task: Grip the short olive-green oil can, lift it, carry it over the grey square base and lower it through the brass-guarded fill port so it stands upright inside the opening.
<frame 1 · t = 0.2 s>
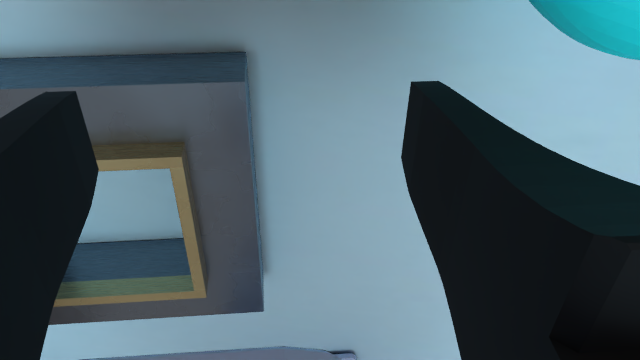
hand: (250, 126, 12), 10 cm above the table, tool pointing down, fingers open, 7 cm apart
grey square base: (114, 186, 25), on the table
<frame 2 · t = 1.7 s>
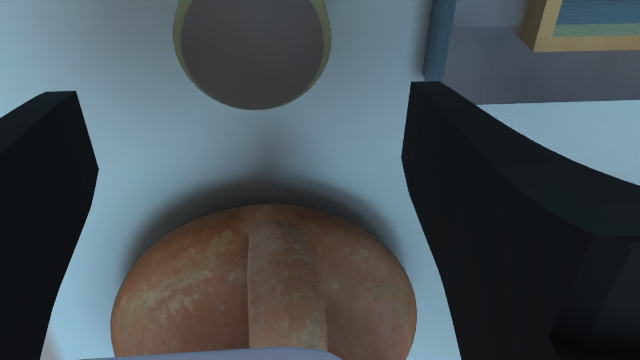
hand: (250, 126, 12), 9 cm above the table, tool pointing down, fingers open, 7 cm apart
ceramic jug: (268, 271, 28), on the table
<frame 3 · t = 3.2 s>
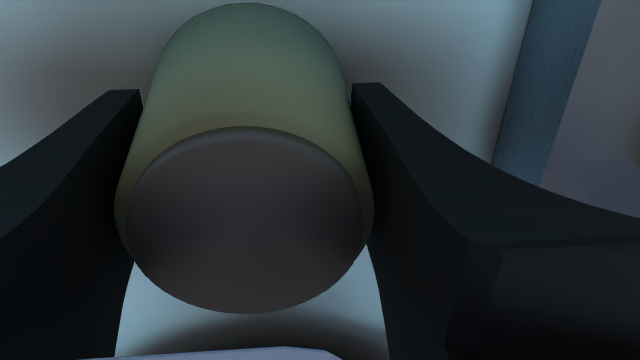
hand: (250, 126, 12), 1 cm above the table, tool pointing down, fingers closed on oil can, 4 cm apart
oil can: (251, 94, 13), on the table, touching gripper
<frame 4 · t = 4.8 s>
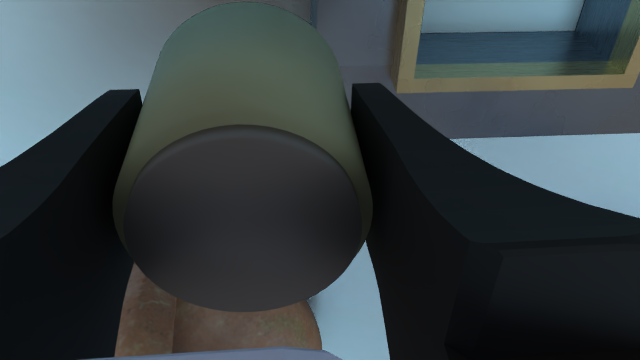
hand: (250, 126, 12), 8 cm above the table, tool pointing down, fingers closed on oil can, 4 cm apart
ceramic jug: (178, 298, 28), on the table
oil can: (250, 93, 13), point 7 cm above the table, touching gripper
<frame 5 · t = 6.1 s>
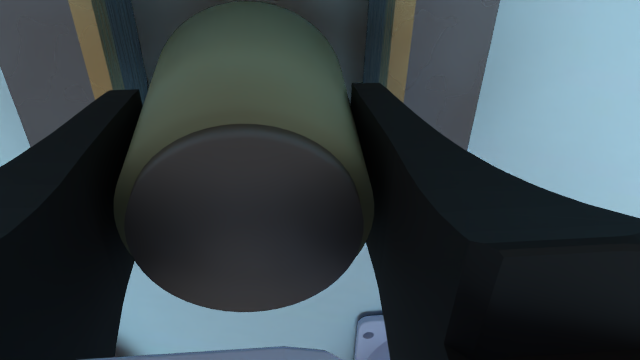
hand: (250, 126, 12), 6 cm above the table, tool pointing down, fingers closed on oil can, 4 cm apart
grey square base: (253, 26, 17), on the table
oil can: (250, 93, 13), point 4 cm above the table, touching gripper
when the fingers open (4 cm above the table, at t = 6.9 s): oil can drops 3 cm, resting in grey square base.
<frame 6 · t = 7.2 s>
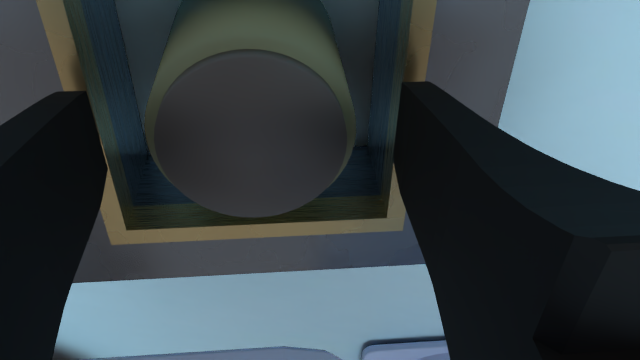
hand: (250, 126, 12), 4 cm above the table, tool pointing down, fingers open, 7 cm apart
grey square base: (252, 48, 15), on the table
oil can: (254, 46, 15), resting in grey square base
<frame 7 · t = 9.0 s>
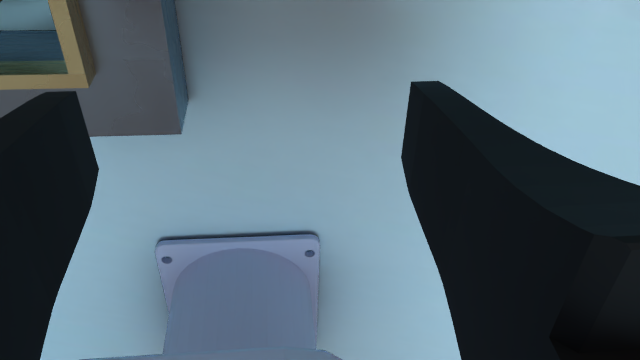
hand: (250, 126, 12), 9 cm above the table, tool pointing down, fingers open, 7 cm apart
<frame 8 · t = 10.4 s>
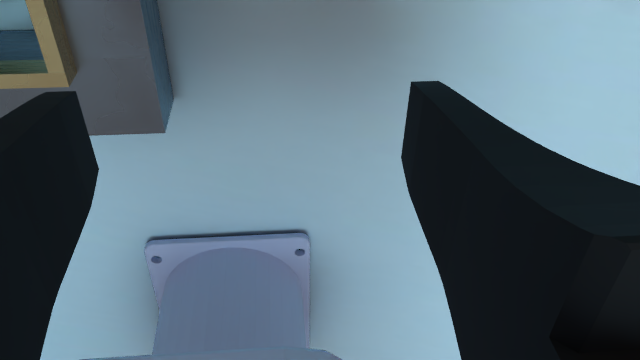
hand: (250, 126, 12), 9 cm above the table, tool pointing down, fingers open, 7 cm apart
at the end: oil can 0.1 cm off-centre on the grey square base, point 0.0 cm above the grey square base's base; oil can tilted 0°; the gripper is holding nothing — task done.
